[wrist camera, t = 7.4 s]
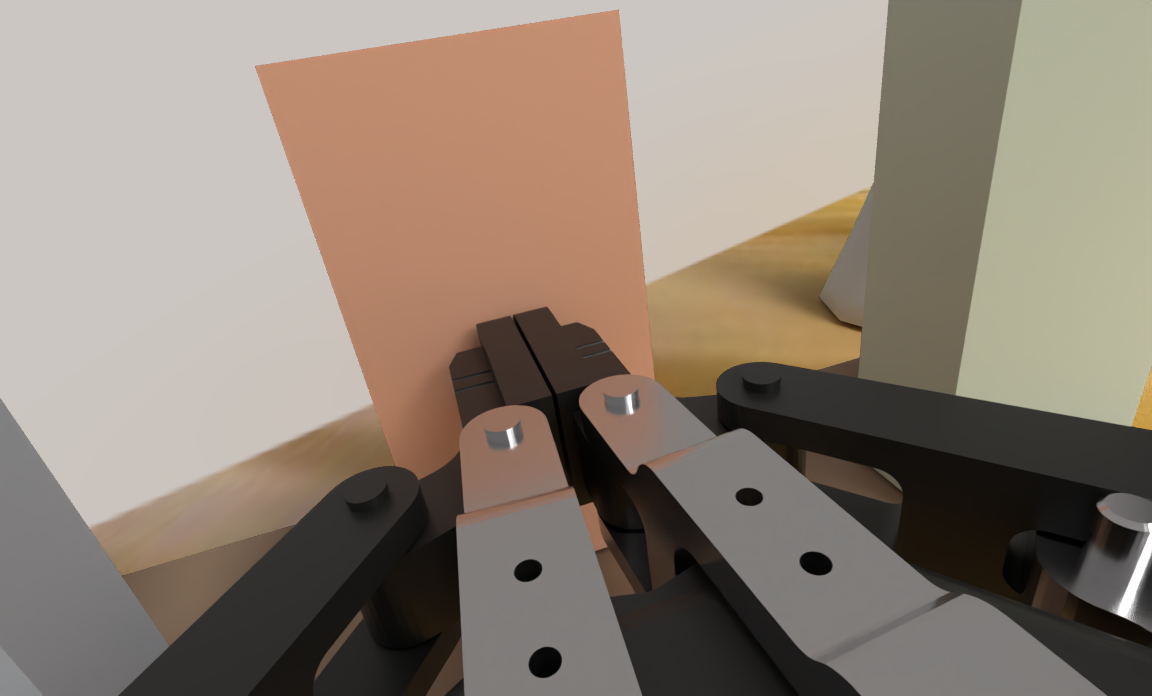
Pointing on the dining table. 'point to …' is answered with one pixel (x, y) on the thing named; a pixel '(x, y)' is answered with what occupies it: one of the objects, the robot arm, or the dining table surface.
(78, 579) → the slate tab
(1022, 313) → the sage tab
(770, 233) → the dining table surface
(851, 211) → the dining table surface
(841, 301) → the flask
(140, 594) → the brown wooden flat board
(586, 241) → the terracotta tab
